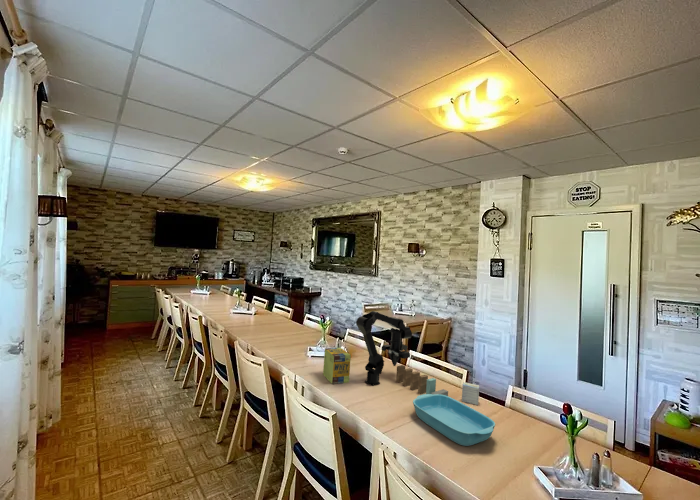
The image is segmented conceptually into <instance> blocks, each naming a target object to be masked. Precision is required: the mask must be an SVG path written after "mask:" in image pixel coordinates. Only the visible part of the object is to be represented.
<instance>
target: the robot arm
mask: <svg viewBox="0 0 700 500" xmlns="http://www.w3.org/2000/svg"><path fill="white" fill-rule="evenodd" d="M376 321H381V322H384V323H386V324H388V326H390V327H391V328H390V329H389V330H388V332H390V333H391V340H389V343H390V344H383V345H382V346H381V351H383V352H386V351H388V352H387V355H388V356H389V358H390V361H391V362H392V365H393V367H397V366H396V365H397V364H398V361H399V359H400V358H401V359H409V358H411V353H410V351H408V347H409V345H406V344H405V343H403V342H404V341H402V340H403V339H411V338H412V336H413V332H412V330H411V327H410V326H406V324H405V322H404V320H403V319H402V318H398V317H395V316H394V317H393V316H388V315H385V314H382V313H380V312H379V311H376V310H372V311H370V312H367V313H366V314H363V315H360V316H359V317H358V318H357V319H356V320H355V324H356V327H357V328H358V330H359V331H360V332H361V334H362V336H363V339H364V342H365V345H366V349H367V352H368V360H367V361H368V362H367V363H366V365H365V366H364V369H365V371H367V372H366V380H365V381H364V383H366V384H367V385H369V386H372V387H373V386H378V385H380V384H381V382H380V375H382V372H383V370H384V366H385V360H384V358H383V357H384V356H383V355H381V354H379V353H378V351H377V350H378V349H377V347H376V343H375V340H374V337H373V334H372V329H373V325H374V324H376Z"/></svg>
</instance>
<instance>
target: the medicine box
mask: <svg viewBox="0 0 700 500" xmlns="http://www.w3.org/2000/svg"><path fill="white" fill-rule="evenodd" d="M461 386H462V389H461V391H462V392H461V403H467V404H471V405H476V406H479V400H480V399H479V398H480V397H479V396H480V385H479V384H474V383H469V382H465V381H464V382H463V383H462V385H461Z"/></svg>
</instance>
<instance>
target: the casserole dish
mask: <svg viewBox="0 0 700 500" xmlns="http://www.w3.org/2000/svg"><path fill="white" fill-rule="evenodd" d="M412 403H413V408H414V410H415V414H416V416H417V417H418V419H420V420H421V421H422V422H424V423H425V424H427V425H428V426H429V427H431V428H432V429H434V430H435V431H437V432H438V433H440V434H441V435H443V436H444V437H446V438H447V439H449V440H450V441H451V442H454V443H456V444H458V445H460V446H463V447H469V446H473V445H476V444H479V443H483V442H484V441H487V440H488V439H489V438H490V437H491V436H492V433H493V432H494V429H495V427H496V422H495V421H494V420H493V419H492V418H491V417H488V416H487V415H486V414H483V413H482V412H480V411H478V410H475V409H474V408H473V407H470V406H468V405H466V404H465V403H464V402H462V401H459V400H457V399H454V398H453V397H450V396H449V395H448V396H446V395H441V394H426V393H424V394H419V395H417V396H416V398H414V399H413V401H412Z"/></svg>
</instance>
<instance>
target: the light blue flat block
mask: <svg viewBox="0 0 700 500" xmlns="http://www.w3.org/2000/svg"><path fill="white" fill-rule="evenodd" d="M436 386H437V379H436V378H434V377H432V378H428V379H427V386H426V393H425V394H431V393H432V392H435V391H437V390H436Z"/></svg>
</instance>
